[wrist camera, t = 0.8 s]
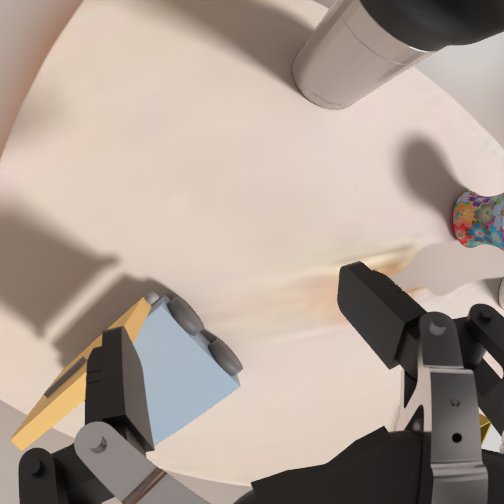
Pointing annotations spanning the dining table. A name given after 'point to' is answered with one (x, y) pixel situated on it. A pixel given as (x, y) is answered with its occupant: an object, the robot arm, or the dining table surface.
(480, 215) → the mug
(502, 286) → the milk bottle
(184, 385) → the flatbed
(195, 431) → the dining table surface
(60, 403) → the yellow plate
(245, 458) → the dining table surface
